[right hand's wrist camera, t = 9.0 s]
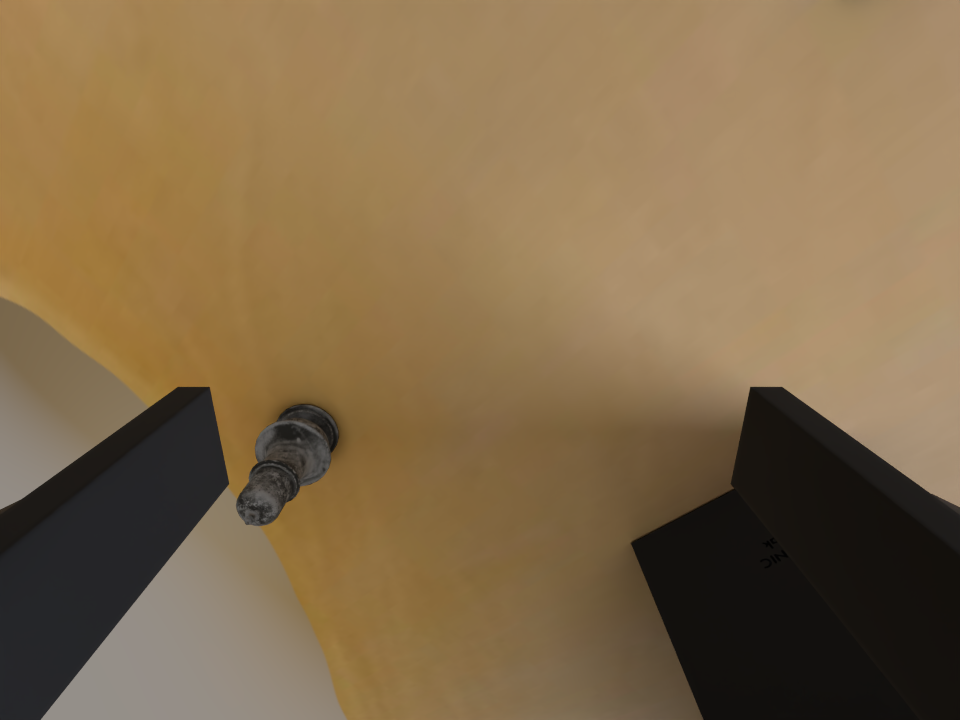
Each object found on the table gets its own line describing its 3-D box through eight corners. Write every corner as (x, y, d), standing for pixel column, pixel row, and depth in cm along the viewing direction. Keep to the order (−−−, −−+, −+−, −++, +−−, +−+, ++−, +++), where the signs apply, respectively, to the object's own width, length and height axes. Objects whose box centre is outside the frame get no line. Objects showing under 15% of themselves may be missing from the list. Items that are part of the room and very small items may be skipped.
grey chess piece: (304, 474, 45) (244, 575, 33) (257, 424, 43) (178, 514, 32) (356, 440, 43) (313, 534, 32) (310, 388, 42) (248, 467, 30)
